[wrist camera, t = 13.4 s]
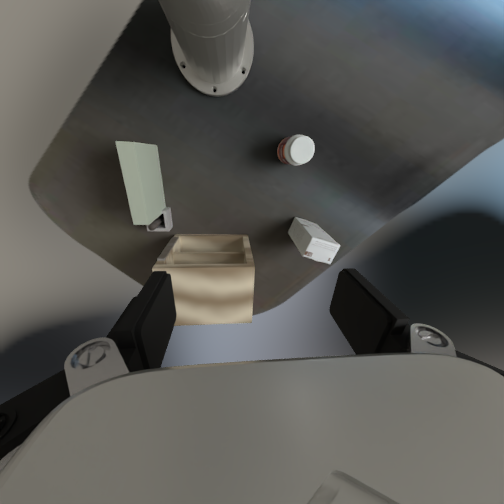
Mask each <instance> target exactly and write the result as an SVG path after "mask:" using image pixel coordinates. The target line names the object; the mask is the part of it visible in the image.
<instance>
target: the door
mask: <svg viewBox="0 0 504 504" xmlns="http://www.w3.org/2000/svg"><path fill="white" fill-rule="evenodd" d="M115 142H116V146H117V151H118V156H119V160H120V165H121V169H122V174H123V178H124V183H125V188H126V192H127V197H128V201H129V206H130V211H131V215H132V220H133V224H134V225H146V226H147V231H151V230H149V229H148V226H149V225H150V224H151V223H152V222H153V221H154V220H155V219H156V218H158V217H159V216H160V215H161V214H164V221H165V224H160V225H159V226H158V227H157V228H156V229H155V230H153V231H170V230H171V228H172V227H173V224H172V216H171V209H170V207H166V205H165V198H164V191H163V184H162V177H161V170H160V162H159V155H158V148H157V145H152V144H144V143H137V142H123V141H115Z"/></svg>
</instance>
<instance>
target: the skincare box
mask: <svg viewBox="0 0 504 504" xmlns="http://www.w3.org/2000/svg"><path fill="white" fill-rule="evenodd" d="M288 234H289V236H290V237H291V239H292V240H293V242H294V243H295V245H296V247H297V248H298V250H299V251H300V253H301V255H302V256H303V257H307V258H310V259H313V260H315V261H319V262H324V263H327V264H331V262H332V260H333V258H334V257H335V255H336V253H337V251H338V249H339V247H340V245H339V244H338V243H337V242H336V241H335V240H334V239H332V238H331V237H330V236H329V235H328V234H327V233H326V232H325V231H324V230H322V229H321V228H320V227H319V226H318V225H317V224H315V223H312V222H310V221H307V220H304V219H301V218H297V217H295V218H294V220H293V222H292V224H291V227H290V229H289V231H288Z"/></svg>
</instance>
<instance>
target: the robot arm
mask: <svg viewBox="0 0 504 504" xmlns="http://www.w3.org/2000/svg"><path fill="white" fill-rule="evenodd" d="M250 1H251V0H159V3H160V5H161V7H162V9H163V11H164V13H165V16H166V18H167V20H168V22H169V24H170V26H171V44H172V50H173V54H174V57H175V60H176V63H177V65H178V67H179V69H180V71H181V72H182V74H183V76H184V77H185V78H186V80H187V81H188V82H189V83H190V84H191V85H192V86H193V87H194V88H195V89H197V90H198V91H200V92H201V93H203V94H206V95H209V96H214V97H220V96H226V95H229V94H231V93H233V92H234V91H236V90H237V89H238V88H239V87H240V86H241V85H242V84H243V82H244V81H245V79H246V78H247V76H248V73H249V71H250V68H251V65H252V60H253V53H254V41H253V33H252V29H251V25H250V22H249V20H248V16H249V9H250ZM183 65H185V66H186V67H185V68H183ZM242 71H244V72H245V74H242ZM214 89H216V92H213V90H214ZM330 314H331V315H332V317H333V319H334V320H335V322H336V323H337V325H338V327H339V328H340V330H341V331H342V333H343V334H344V336H345V338H346V339H347V341H348V342H349V344H350V346H351V347H352V349H353V350H354V352H355V353H356V355H341V356H324V357H306V358H291V359H273V360H257V361H242V362H229V363H228V362H227V363H213V364H198V365H187V366H174V367H164V368H160V367H161V364H162V360H163V358H164V355H165V352H166V349H167V346H168V343H169V340H170V337H171V333H172V330H173V327H174V324H175V321H176V315H177V314H176V307H175V300H174V294H173V287H172V280H171V275H170V274H167V272H166V271H154V272H153V273H152V274H151V276H150V277H149V279H148V281H147V282H146V284H145V285H144V287H143V288H142V290H141V291H140V293H139V294H138V296H137V297H134V298H133V299H132V300H131V302H130V303H129V304H128V306H127V307H126V309H125V310H124V312H123V313H122V315H121V316H120V318H119V319H118V321H117V322H116V324H115V325H114V327H113V328H112V329H111V331H110V332H109V334H108V335H107V337H106V338H97V339H93V340H90V341H88V342H86V343H84V344H82V345H80V346H79V347H78V348H76V349H75V350H74V351H73V352H72V353H71V354H70V355H69V356H68V357H67V359H66V361H65V366H64V367H65V369H64V370H63V371H60V372H59V373H57V374H55V375H53V376H52V377H50V378H48V379H46V380H44V381H43V382H41V383H39V384H37V385H35V386H33V387H32V388H30V389H28V390H26V391H24V392H23V393H21V394H19V395H17V396H16V397H14V398H12V399H10V400H8V401H6V402H5V403H3V404H1V405H0V504H504V371H502V370H500V369H498V368H496V367H493V366H491V365H489V364H486V363H484V362H482V361H479V360H477V359H475V358H472V357H470V356H468V355H465V354H463V353H461V352H458V351H456V350H455V349H454V345H453V343H452V341H451V340H450V339H449V338H448V337H447V336H446V335H445V334H444V333H442V332H441V331H439V330H437V329H436V328H433V327H431V326H428V325H424V324H413V325H411V326H410V325H409V324H408V321H409V318H408V317H407V316H406V315H405V314H404V313H403V312H402V311H401V310H399V309H398V308H397V307H396V306H395V305H394V304H393V303H392V302H391V301H390V300H388V299H387V298H386V297H385V296H384V295H383V294H382V293H381V292H380V291H379V290H377V289H376V288H375V287H374V286H373V285H372V284H371V283H370V282H369V281H367V279H365V278H364V277H363V276H362V275H361V274H360V273H359V272H358V271H357V270H356V269H343V270H342V271H341V272H340V273H339V275H338V279H337V283H336V287H335V290H334V294H333V298H332V301H331V305H330Z"/></svg>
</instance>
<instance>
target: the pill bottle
mask: <svg viewBox="0 0 504 504" xmlns="http://www.w3.org/2000/svg"><path fill="white" fill-rule="evenodd" d="M314 149H315V148H314V143H313V141H312V140H311V139H310V138H309V137H307V136H304V135H294V136H291V137H287V138H285V139H283V140H282V141H281V142H280V144H279V146H278V149H277V154H278V157H279V159H280V161H281V162H283V163H285V164H289V165H294V166H298V165H301V164H304V163H306V162H308V161H309V160H310V159H311V158H312V156H313V154H314Z"/></svg>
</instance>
